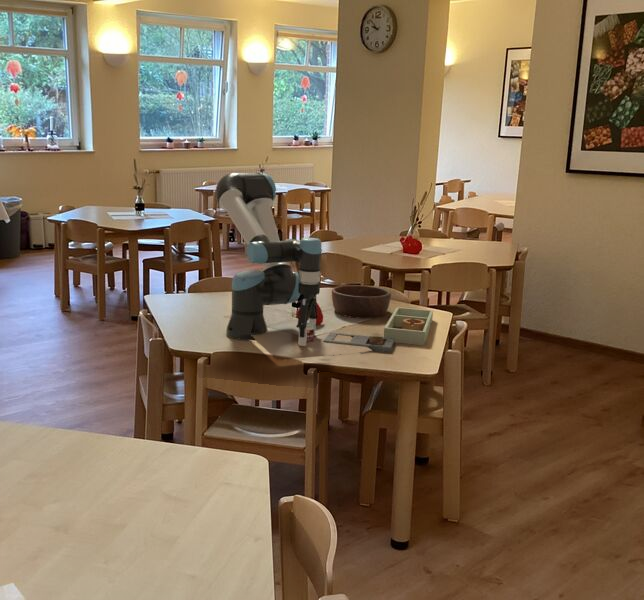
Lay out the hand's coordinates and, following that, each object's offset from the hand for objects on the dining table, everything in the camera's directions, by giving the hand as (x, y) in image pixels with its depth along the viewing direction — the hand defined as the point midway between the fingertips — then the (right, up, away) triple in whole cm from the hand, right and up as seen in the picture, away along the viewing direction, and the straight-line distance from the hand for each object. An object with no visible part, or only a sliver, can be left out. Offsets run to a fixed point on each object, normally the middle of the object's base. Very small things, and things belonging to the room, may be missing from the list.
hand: (306, 340), depth 267 cm
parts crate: (+39, +2, +25) cm, 47 cm away
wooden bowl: (+21, +8, +50) cm, 55 cm away
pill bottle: (0, -1, 0) cm, 2 cm away
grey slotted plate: (+19, -2, +2) cm, 19 cm away
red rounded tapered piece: (+4, +5, +23) cm, 24 cm away
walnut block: (+25, -2, +1) cm, 25 cm away
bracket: (+41, 0, +29) cm, 51 cm away
